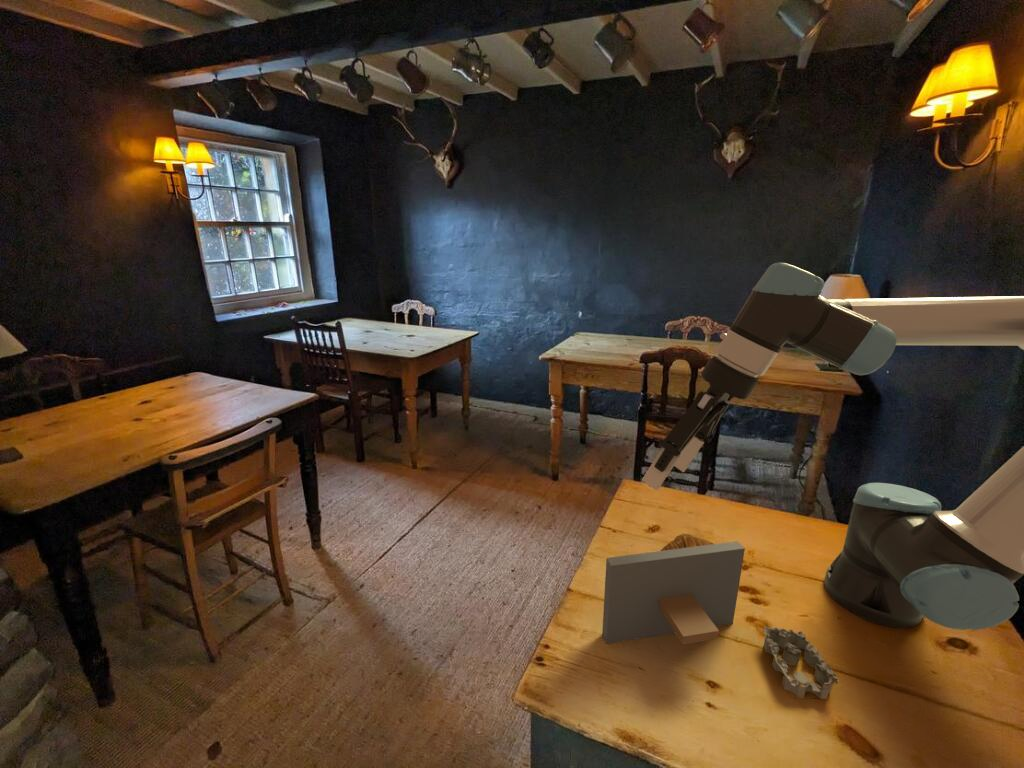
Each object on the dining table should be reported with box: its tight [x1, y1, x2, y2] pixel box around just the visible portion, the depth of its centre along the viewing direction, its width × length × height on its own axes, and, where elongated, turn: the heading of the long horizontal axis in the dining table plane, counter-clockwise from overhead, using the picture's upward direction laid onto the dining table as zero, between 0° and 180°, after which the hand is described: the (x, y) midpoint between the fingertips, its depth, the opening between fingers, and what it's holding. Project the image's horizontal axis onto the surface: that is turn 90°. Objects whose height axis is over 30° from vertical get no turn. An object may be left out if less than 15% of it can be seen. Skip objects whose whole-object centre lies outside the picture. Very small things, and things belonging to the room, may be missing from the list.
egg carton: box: [763, 625, 839, 700], centre depth 74 cm, size 11×8×4 cm
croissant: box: [660, 533, 715, 551], centre depth 101 cm, size 14×7×5 cm, turn 101°
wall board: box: [601, 540, 746, 645], centre depth 76 cm, size 24×10×16 cm, turn 100°
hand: (664, 475), depth 77 cm, fingers open, 13 cm apart
